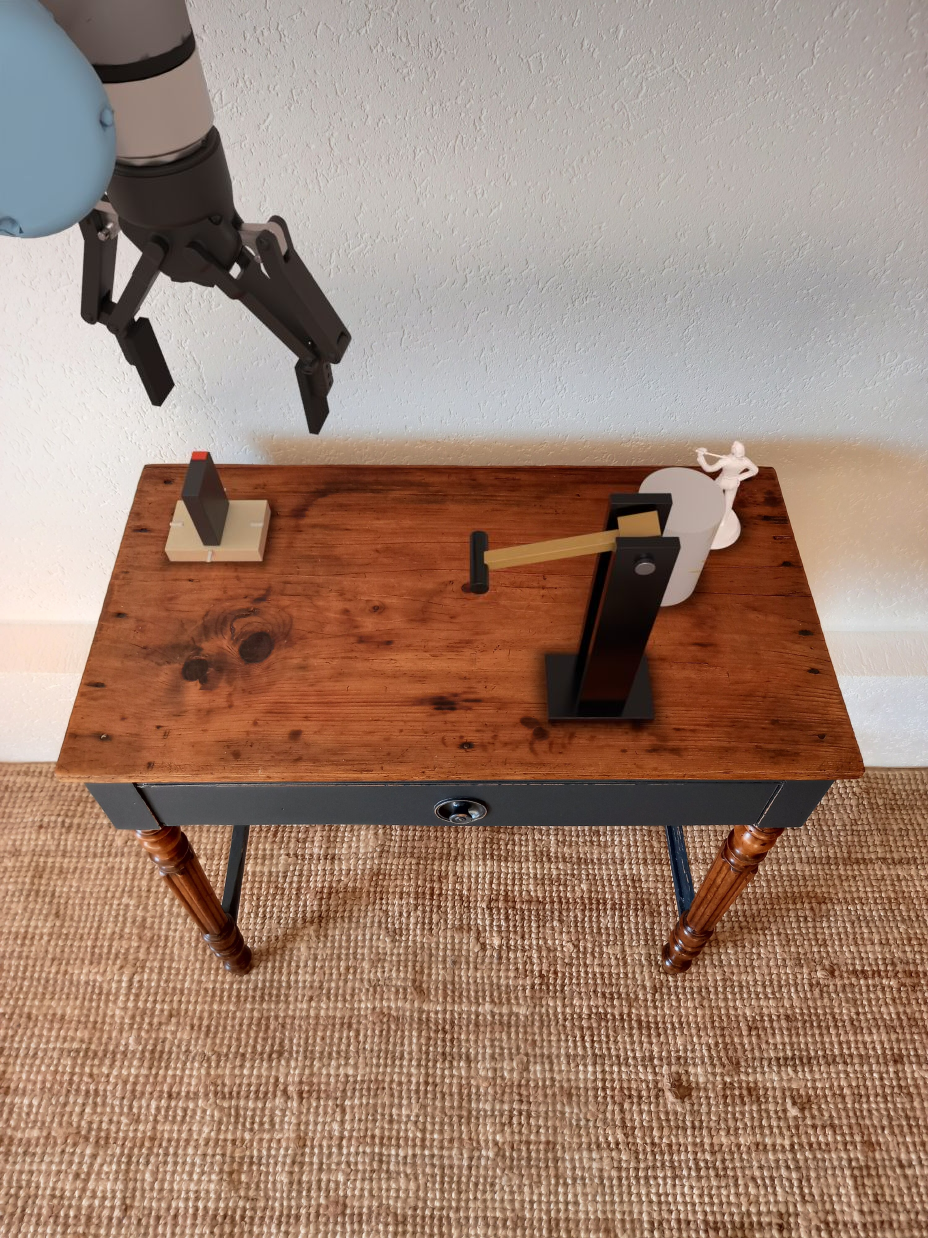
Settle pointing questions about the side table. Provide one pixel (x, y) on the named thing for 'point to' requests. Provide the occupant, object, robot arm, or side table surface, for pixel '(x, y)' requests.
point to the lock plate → (238, 538)
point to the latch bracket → (616, 625)
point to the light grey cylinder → (688, 523)
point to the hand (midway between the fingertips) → (240, 408)
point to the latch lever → (552, 548)
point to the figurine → (728, 488)
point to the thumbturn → (205, 498)
